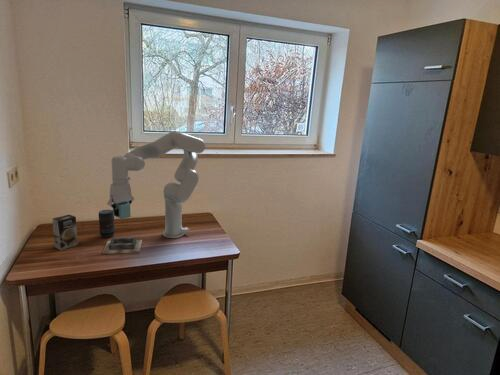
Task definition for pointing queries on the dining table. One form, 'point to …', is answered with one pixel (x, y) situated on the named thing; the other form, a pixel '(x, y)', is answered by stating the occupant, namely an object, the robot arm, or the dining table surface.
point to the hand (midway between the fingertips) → (121, 214)
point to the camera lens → (106, 223)
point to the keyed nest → (122, 246)
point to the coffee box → (65, 232)
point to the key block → (123, 210)
